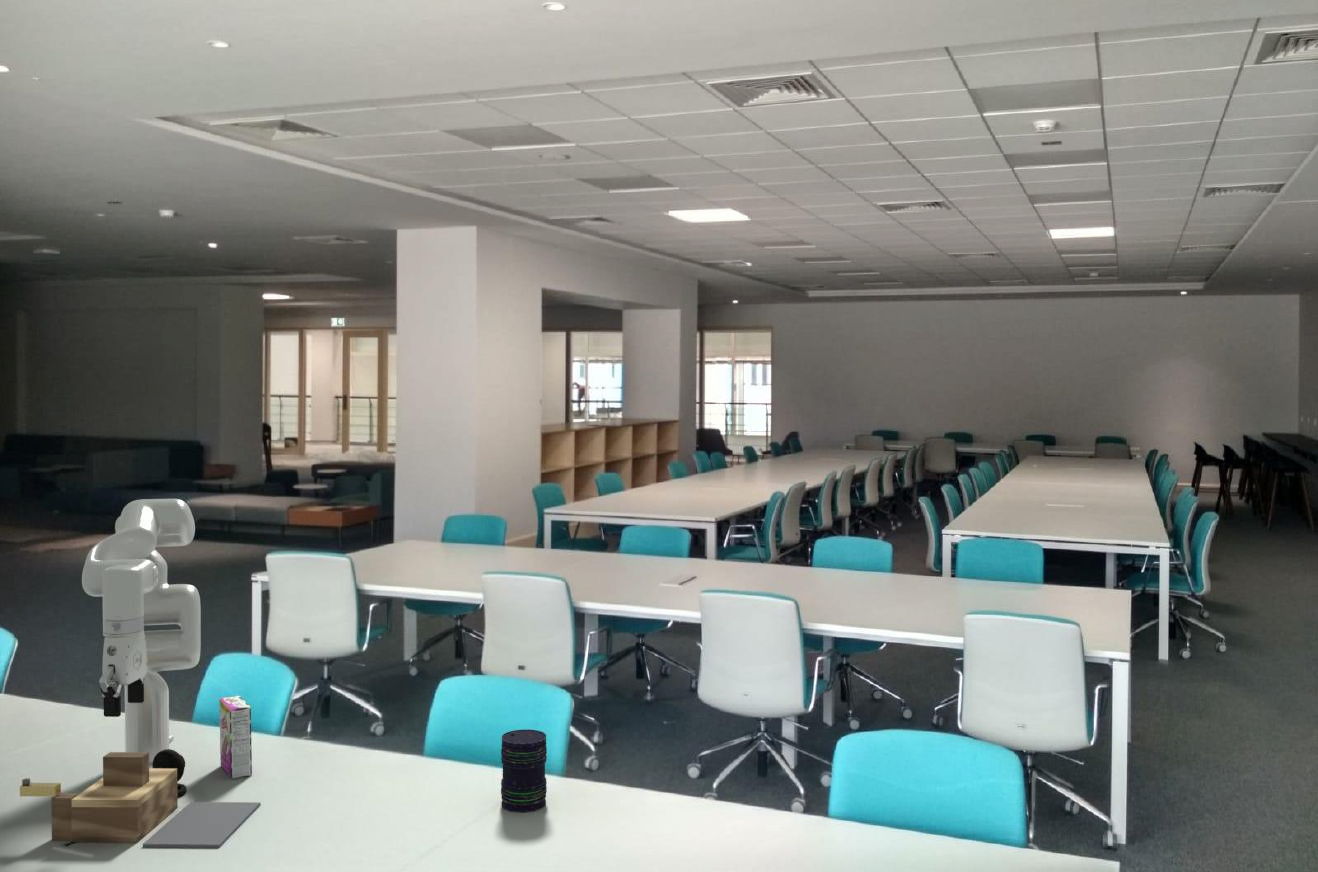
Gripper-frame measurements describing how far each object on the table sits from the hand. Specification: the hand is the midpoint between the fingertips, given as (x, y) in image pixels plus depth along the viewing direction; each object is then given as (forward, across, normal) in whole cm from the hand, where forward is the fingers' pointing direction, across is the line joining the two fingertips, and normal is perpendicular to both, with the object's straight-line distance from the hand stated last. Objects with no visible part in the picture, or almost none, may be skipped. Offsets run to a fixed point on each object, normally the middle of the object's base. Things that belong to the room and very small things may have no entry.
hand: (124, 709), depth 224 cm
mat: (+24, 0, -16) cm, 29 cm away
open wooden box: (+24, 0, +2) cm, 24 cm away
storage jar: (+24, +14, -80) cm, 85 cm away
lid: (+17, 0, 0) cm, 17 cm away
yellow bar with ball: (+15, -7, +13) cm, 22 cm away
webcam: (+24, +17, -1) cm, 30 cm away
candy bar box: (+24, +32, -10) cm, 42 cm away
